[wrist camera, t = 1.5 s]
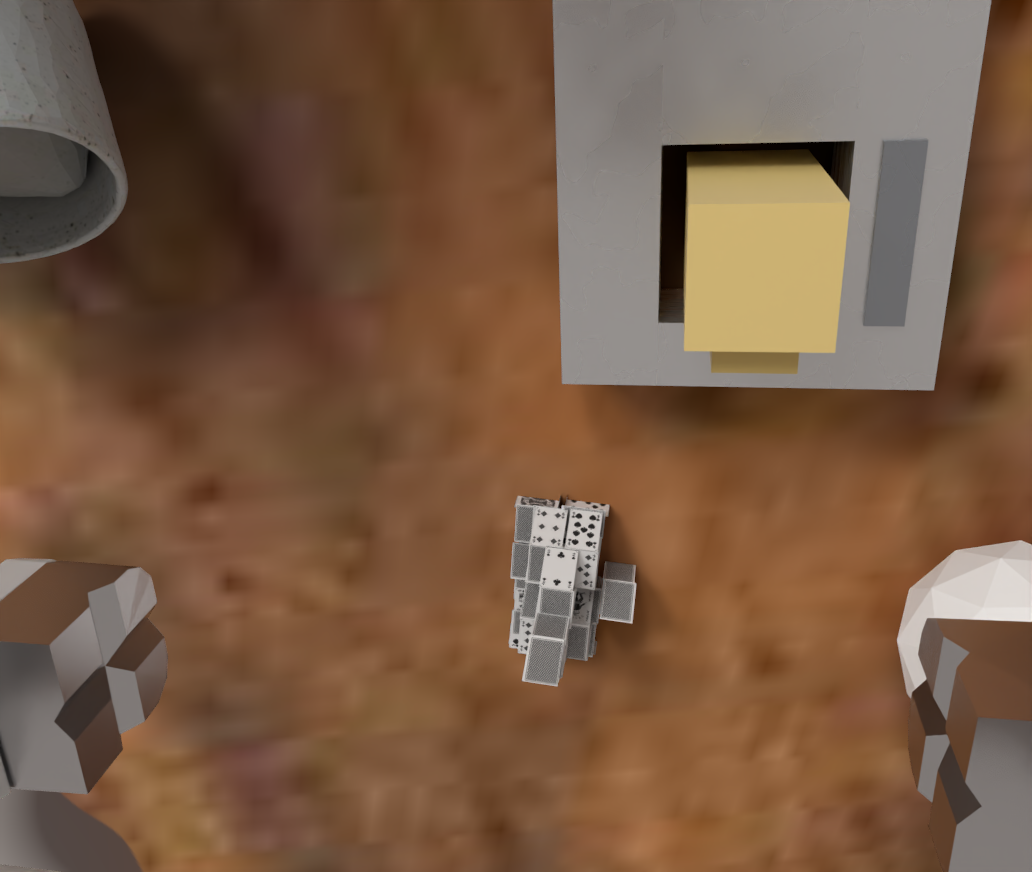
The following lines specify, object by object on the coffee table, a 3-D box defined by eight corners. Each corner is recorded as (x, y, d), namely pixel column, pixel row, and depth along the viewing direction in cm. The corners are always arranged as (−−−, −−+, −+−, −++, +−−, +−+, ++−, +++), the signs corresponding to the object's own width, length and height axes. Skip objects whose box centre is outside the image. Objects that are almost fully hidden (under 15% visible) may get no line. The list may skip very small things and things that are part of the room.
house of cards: (702, 687, 43) (705, 822, 36) (508, 659, 44) (474, 785, 37) (733, 510, 39) (744, 624, 32) (519, 484, 40) (484, 588, 33)
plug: (687, 151, 33) (688, 204, 25) (808, 149, 32) (850, 202, 24) (682, 293, 35) (683, 385, 27) (796, 294, 34) (831, 387, 26)
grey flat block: (560, -392, 27) (540, -453, 24) (1012, -442, 25) (1070, -517, 22) (573, 345, 36) (561, 386, 33) (907, 348, 35) (935, 392, 31)
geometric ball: (1079, 482, 36) (1178, 607, 28) (1096, 656, 38) (1190, 809, 31) (865, 521, 38) (908, 646, 30) (897, 683, 40) (943, 833, 33)
